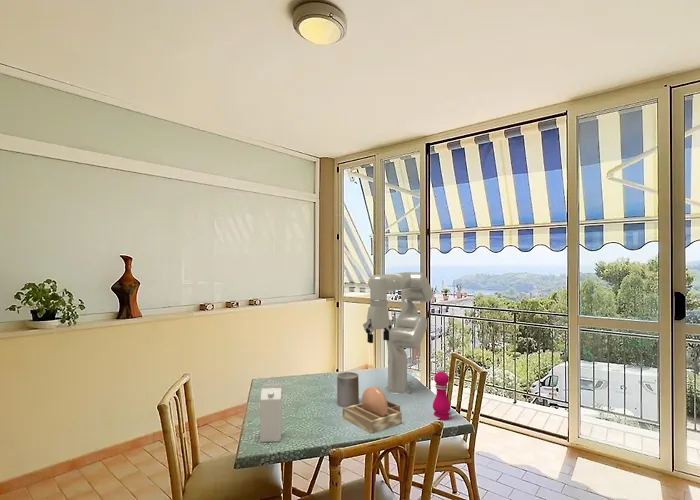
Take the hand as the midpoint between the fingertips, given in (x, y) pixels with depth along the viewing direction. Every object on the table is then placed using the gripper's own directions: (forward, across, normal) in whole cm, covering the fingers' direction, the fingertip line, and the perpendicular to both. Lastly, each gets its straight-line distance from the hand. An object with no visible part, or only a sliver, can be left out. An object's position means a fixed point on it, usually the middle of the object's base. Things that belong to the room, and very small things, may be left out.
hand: (378, 341), depth 181 cm
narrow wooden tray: (+28, +3, +6) cm, 29 cm away
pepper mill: (+28, -11, +27) cm, 41 cm away
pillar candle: (+28, +12, -7) cm, 32 cm away
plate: (+27, +16, +14) cm, 34 cm away
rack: (+28, +16, +14) cm, 35 cm away
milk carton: (+28, +54, +2) cm, 61 cm away
